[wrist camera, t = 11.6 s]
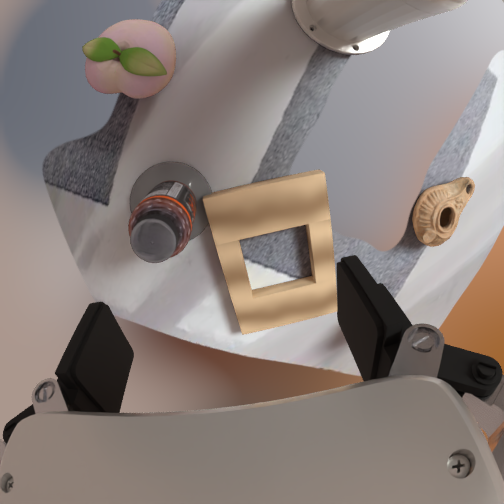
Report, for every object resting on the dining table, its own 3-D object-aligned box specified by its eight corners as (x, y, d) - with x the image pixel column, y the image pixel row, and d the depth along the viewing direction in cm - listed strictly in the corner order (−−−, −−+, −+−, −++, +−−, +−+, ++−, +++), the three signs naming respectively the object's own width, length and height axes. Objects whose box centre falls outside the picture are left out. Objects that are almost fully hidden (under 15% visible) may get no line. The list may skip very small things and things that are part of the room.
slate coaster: (121, 175, 32) (119, 176, 31) (201, 151, 32) (200, 152, 31) (146, 250, 36) (145, 252, 36) (222, 231, 36) (222, 233, 36)
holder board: (203, 194, 34) (202, 199, 32) (319, 169, 34) (324, 172, 32) (241, 325, 43) (242, 334, 41) (333, 303, 43) (337, 311, 41)
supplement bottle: (200, 225, 35) (192, 272, 25) (152, 229, 35) (127, 277, 25) (195, 176, 32) (183, 204, 22) (144, 181, 32) (112, 212, 22)
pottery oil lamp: (470, 195, 37) (489, 230, 33) (408, 222, 43) (423, 259, 39) (467, 157, 31) (492, 193, 27) (397, 187, 37) (415, 227, 33)
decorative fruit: (194, 40, 26) (184, 12, 17) (171, 105, 29) (152, 101, 20) (119, 29, 24) (86, 4, 15) (98, 92, 27) (56, 87, 18)
